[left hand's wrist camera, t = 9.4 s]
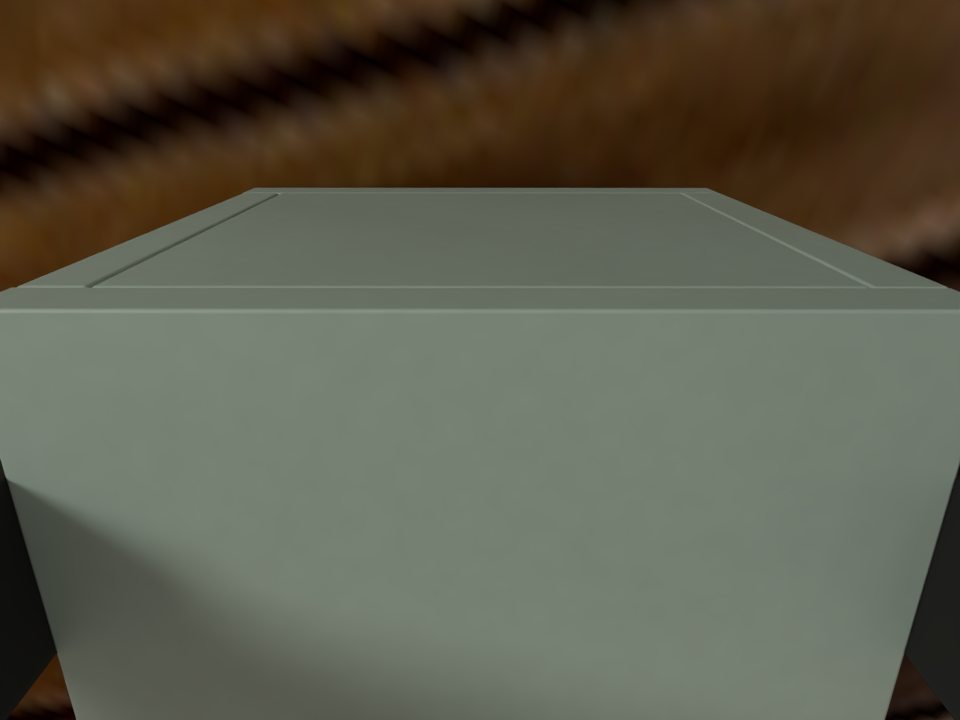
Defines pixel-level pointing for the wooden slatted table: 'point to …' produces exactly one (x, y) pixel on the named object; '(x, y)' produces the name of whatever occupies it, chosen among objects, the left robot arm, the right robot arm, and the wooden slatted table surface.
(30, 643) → the left robot arm
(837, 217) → the wooden slatted table surface
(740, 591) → the cabinet
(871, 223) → the wooden slatted table surface
